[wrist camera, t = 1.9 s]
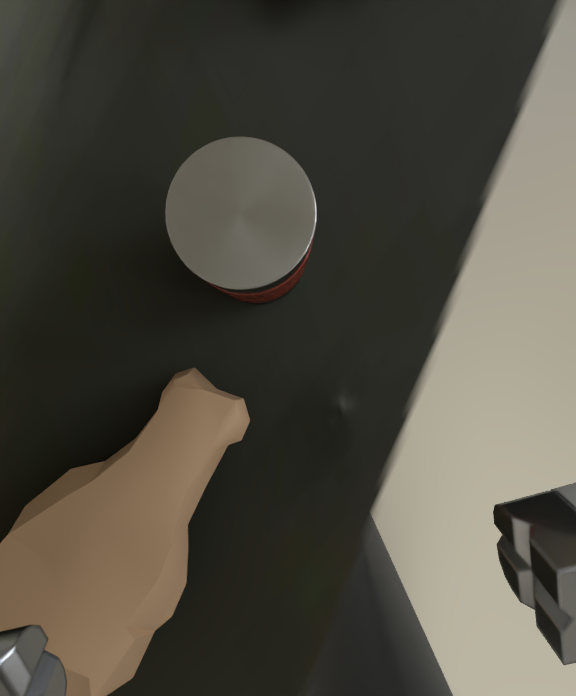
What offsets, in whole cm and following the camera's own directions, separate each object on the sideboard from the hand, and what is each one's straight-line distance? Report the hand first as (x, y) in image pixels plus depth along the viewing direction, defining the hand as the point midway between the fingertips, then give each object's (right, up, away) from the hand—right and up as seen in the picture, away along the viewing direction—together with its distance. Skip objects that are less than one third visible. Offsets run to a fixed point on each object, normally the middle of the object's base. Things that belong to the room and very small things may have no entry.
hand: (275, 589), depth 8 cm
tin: (-2, +10, +21) cm, 23 cm away
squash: (-10, -6, +22) cm, 24 cm away
